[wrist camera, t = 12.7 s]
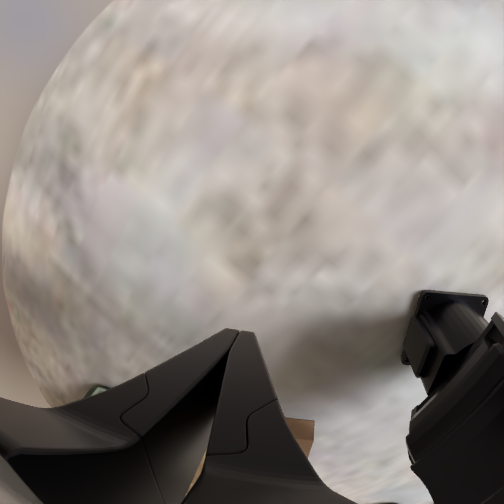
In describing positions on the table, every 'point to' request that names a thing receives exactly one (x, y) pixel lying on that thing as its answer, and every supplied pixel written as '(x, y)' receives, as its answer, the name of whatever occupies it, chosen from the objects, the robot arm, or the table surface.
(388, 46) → the table surface
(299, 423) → the brown wooden block
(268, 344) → the table surface
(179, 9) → the table surface
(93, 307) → the table surface
